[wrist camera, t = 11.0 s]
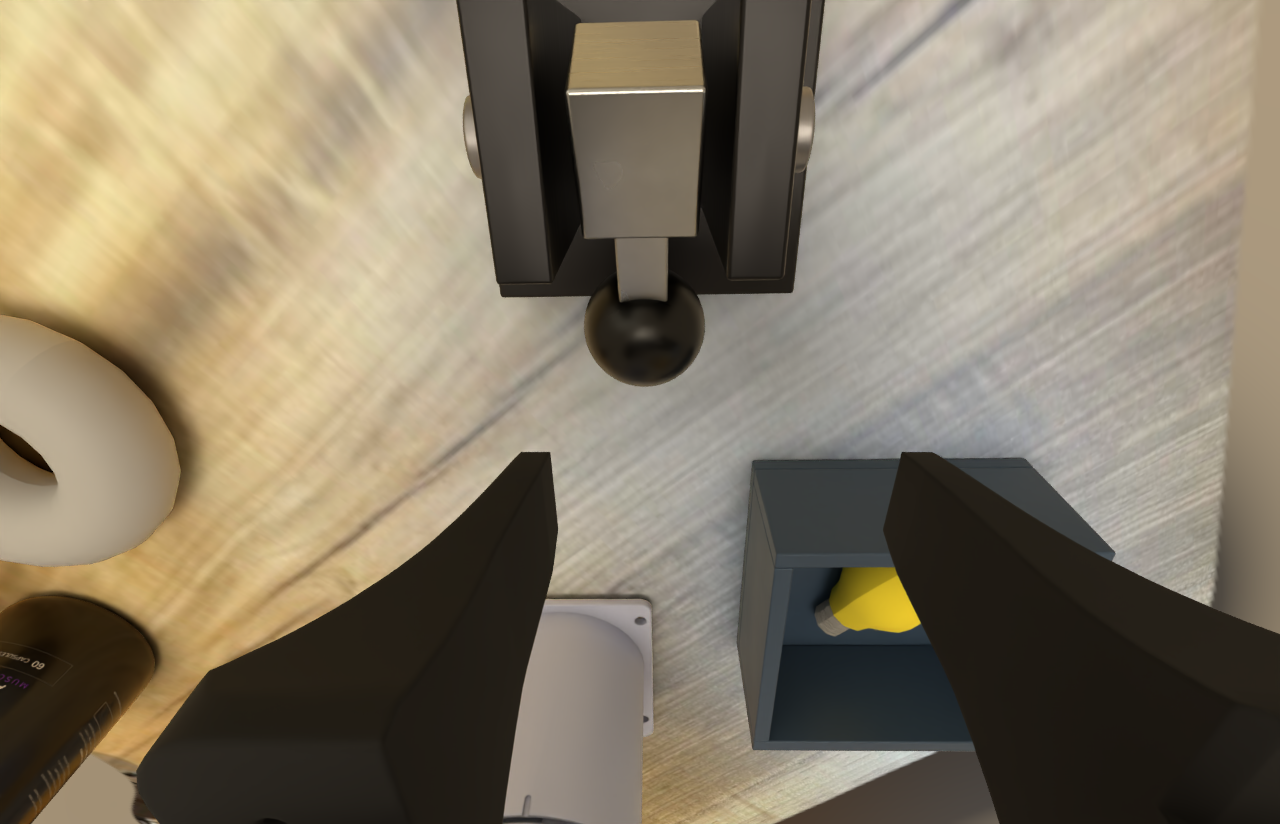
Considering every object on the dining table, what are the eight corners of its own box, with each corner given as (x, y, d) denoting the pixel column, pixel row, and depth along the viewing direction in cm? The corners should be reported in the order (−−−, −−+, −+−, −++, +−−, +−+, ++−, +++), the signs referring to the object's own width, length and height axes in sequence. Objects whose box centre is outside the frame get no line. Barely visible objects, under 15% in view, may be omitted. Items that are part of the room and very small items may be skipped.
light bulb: (935, 520, 23) (981, 610, 21) (837, 585, 27) (867, 666, 25) (869, 514, 22) (911, 609, 20) (777, 582, 26) (803, 668, 24)
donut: (-57, 482, 24) (200, 554, 26) (-160, 540, 21) (138, 618, 22) (-117, 249, 19) (203, 354, 21) (-260, 281, 16) (125, 400, 18)
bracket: (785, 282, 19) (874, 420, 12) (508, 286, 19) (415, 424, 12) (827, -126, 14) (1029, -353, 7) (455, -114, 15) (236, -320, 7)
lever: (698, 323, 17) (704, 410, 15) (592, 325, 17) (586, 410, 15) (722, 9, 11) (737, 96, 9) (552, 13, 11) (533, 101, 9)
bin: (959, 642, 27) (1018, 752, 23) (736, 642, 28) (752, 750, 23) (1025, 457, 22) (1117, 552, 18) (752, 459, 23) (776, 554, 18)
